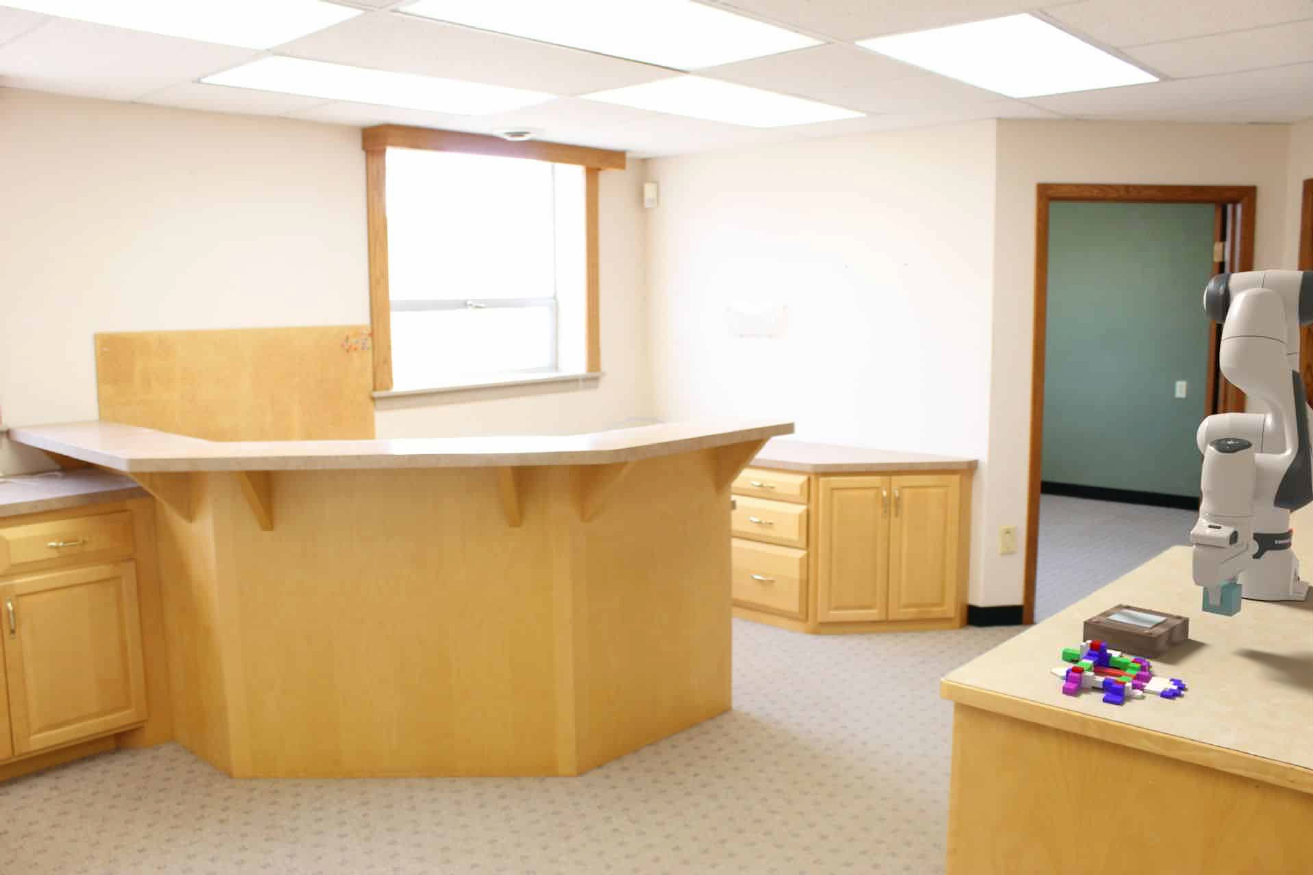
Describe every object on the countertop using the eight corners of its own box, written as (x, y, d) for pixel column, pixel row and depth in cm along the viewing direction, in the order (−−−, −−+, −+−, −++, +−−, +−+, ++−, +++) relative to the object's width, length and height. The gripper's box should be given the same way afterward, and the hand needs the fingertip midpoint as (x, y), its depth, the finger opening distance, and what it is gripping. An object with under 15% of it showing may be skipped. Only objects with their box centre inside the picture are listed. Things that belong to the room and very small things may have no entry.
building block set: (1167, 718, 163) (1168, 690, 162) (1033, 690, 175) (1033, 664, 175) (1197, 671, 183) (1198, 646, 182) (1075, 649, 195) (1075, 626, 194)
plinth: (1119, 623, 208) (1120, 602, 208) (1188, 637, 199) (1189, 615, 198) (1082, 642, 197) (1083, 619, 197) (1153, 658, 188) (1154, 635, 187)
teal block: (1212, 605, 198) (1213, 579, 197) (1240, 610, 194) (1242, 584, 194) (1202, 610, 194) (1203, 584, 194) (1231, 616, 191) (1232, 590, 190)
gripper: (1227, 515, 201) (1223, 585, 203) (1186, 534, 188) (1182, 609, 190) (1264, 520, 197) (1259, 591, 199) (1224, 540, 183) (1220, 616, 185)
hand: (1221, 600), depth 194 cm, fingers closed on teal block, 5 cm apart
